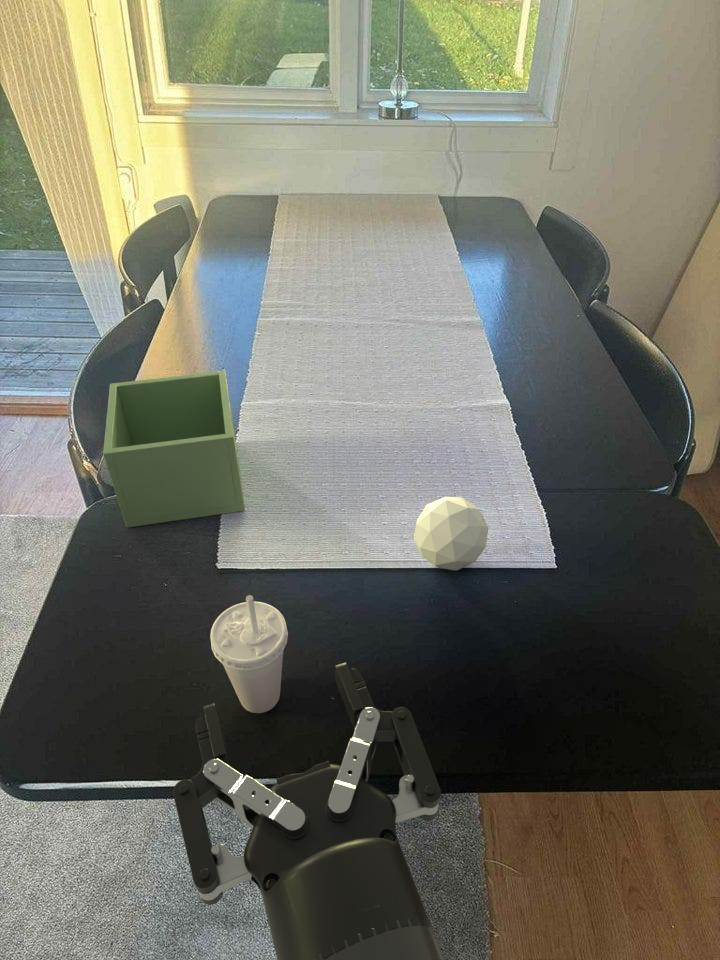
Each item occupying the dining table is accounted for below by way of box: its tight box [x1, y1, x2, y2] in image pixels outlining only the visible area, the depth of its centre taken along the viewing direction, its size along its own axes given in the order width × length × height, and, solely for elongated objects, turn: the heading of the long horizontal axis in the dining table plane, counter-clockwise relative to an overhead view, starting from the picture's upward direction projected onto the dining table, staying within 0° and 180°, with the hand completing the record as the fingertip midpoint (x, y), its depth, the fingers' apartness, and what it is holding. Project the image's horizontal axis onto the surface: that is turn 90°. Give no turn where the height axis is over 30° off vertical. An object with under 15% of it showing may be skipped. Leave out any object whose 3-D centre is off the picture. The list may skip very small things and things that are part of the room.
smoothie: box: [209, 594, 289, 714], centre depth 60 cm, size 6×6×14 cm
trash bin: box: [102, 370, 246, 529], centre depth 83 cm, size 14×14×11 cm
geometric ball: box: [413, 496, 489, 572], centre depth 75 cm, size 8×8×8 cm
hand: (276, 690), depth 45 cm, fingers open, 8 cm apart
